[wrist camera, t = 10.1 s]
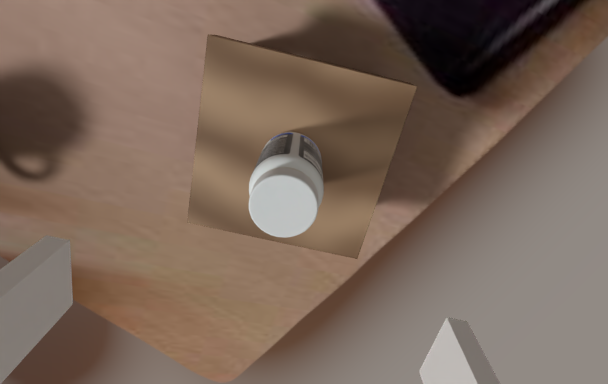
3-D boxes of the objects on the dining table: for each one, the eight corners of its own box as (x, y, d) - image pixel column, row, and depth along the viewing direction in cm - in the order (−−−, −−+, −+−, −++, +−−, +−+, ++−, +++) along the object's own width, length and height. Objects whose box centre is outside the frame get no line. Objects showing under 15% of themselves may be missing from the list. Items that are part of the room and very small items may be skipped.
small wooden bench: (232, 35, 32) (207, 34, 24) (394, 75, 33) (417, 86, 25) (212, 186, 38) (187, 222, 30) (349, 216, 39) (357, 258, 31)
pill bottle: (258, 183, 29) (237, 237, 21) (264, 126, 27) (244, 162, 19) (316, 192, 29) (317, 249, 21) (327, 136, 27) (331, 176, 19)
